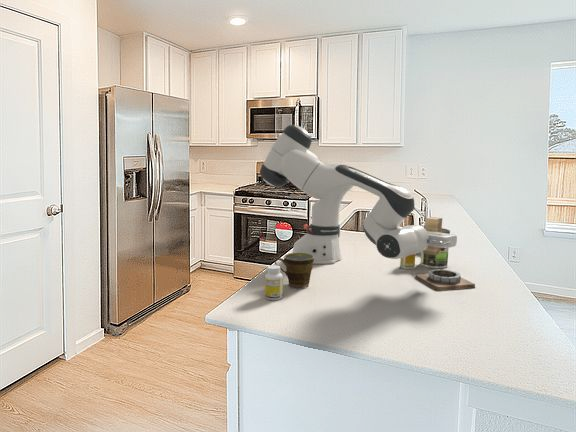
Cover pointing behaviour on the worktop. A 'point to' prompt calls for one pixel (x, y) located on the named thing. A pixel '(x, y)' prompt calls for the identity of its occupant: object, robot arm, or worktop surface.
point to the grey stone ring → (437, 277)
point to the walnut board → (441, 286)
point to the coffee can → (436, 257)
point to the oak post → (435, 226)
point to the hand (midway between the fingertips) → (434, 234)
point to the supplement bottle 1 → (273, 283)
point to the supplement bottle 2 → (408, 262)
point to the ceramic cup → (298, 269)
